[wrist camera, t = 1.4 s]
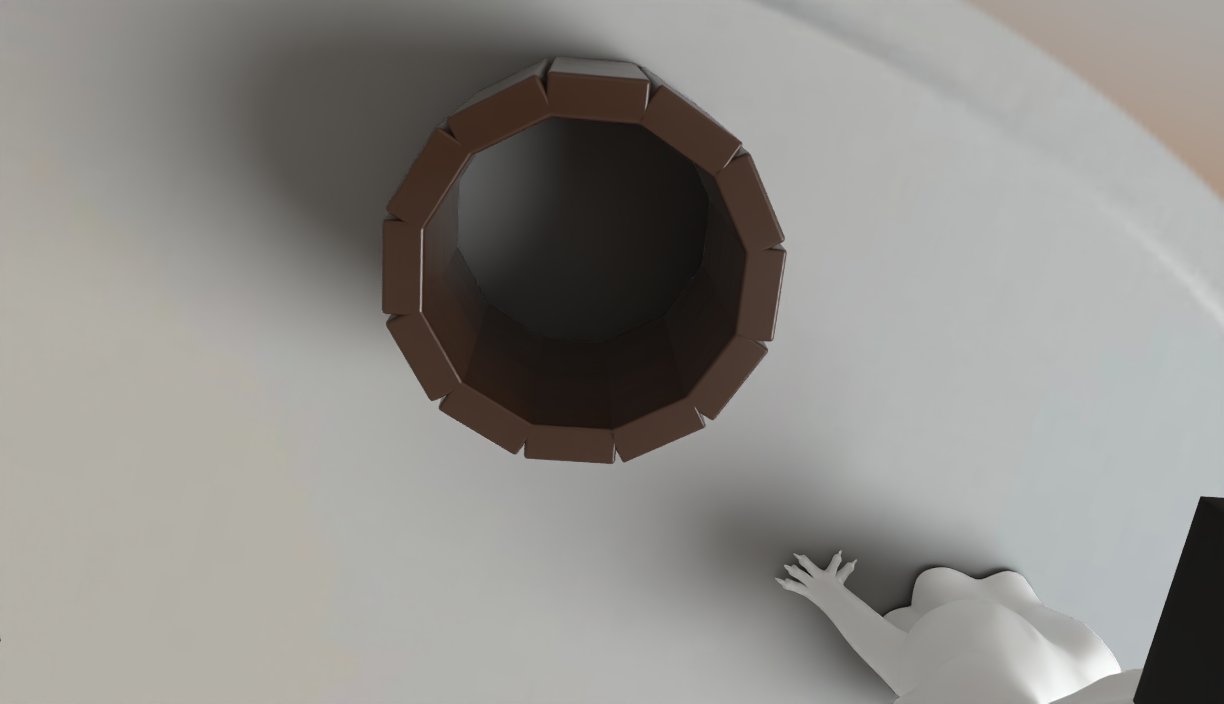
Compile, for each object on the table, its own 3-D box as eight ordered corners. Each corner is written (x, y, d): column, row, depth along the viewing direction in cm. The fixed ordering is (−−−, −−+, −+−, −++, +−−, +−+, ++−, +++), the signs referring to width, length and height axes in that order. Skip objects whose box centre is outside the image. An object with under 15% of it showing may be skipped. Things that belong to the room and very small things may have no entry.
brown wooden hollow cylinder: (366, 147, 25) (303, 188, 19) (661, 0, 24) (686, -2, 18) (514, 414, 28) (497, 518, 22) (785, 293, 27) (839, 369, 21)
